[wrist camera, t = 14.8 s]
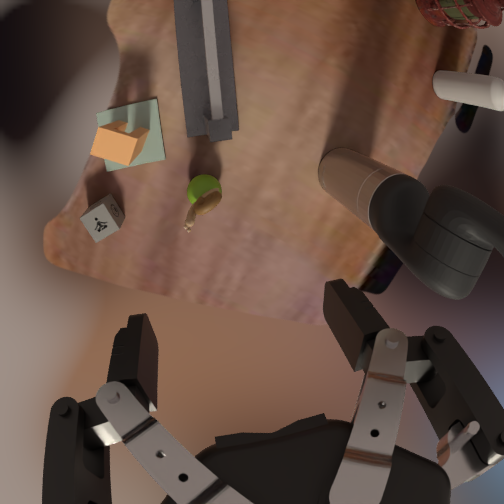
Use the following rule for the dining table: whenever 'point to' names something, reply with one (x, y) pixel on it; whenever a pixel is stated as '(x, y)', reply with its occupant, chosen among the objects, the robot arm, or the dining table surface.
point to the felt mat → (137, 117)
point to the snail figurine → (202, 197)
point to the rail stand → (206, 68)
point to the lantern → (462, 12)
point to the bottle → (470, 89)
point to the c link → (119, 142)
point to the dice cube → (103, 218)
